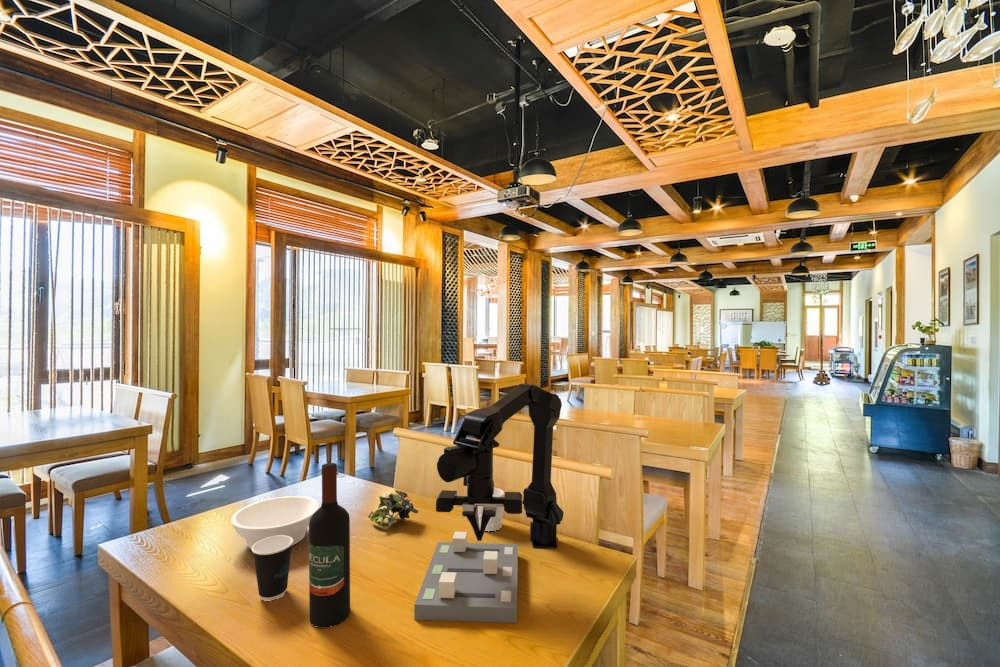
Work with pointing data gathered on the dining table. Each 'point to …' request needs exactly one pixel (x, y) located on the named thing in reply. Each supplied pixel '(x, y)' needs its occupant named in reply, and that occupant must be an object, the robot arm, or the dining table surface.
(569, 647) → the dining table surface
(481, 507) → the white cup
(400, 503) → the green leafy clump
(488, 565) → the block
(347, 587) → the wine bottle
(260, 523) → the bowl
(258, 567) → the dixie cup
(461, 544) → the block
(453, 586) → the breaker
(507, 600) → the grey slider switch panel
